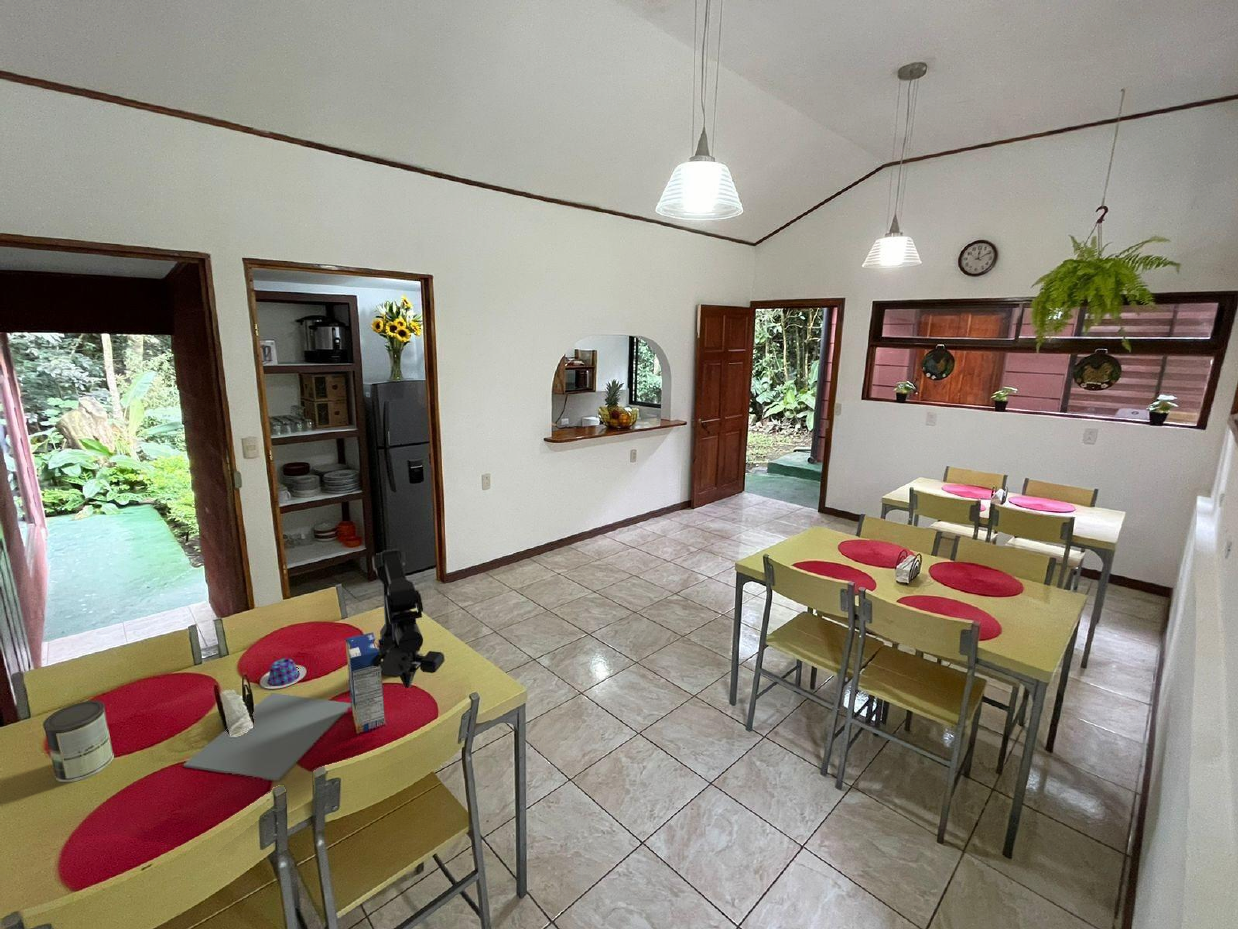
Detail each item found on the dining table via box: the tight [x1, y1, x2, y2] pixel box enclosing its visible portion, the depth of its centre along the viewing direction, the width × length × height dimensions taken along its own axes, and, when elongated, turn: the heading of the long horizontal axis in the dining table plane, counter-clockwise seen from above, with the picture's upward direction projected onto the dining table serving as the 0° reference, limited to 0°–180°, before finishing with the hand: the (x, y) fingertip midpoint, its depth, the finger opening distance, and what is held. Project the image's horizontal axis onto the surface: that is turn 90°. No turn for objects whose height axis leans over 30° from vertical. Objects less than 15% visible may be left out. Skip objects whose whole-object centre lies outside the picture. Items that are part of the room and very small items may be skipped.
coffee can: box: [42, 700, 115, 783], centre depth 131 cm, size 10×10×14 cm
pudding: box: [259, 658, 307, 690], centre depth 168 cm, size 12×12×5 cm
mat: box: [183, 692, 352, 782], centre depth 145 cm, size 28×25×1 cm
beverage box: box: [345, 632, 386, 735], centre depth 149 cm, size 7×11×22 cm, turn 32°
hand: (408, 687), depth 148 cm, fingers closed
